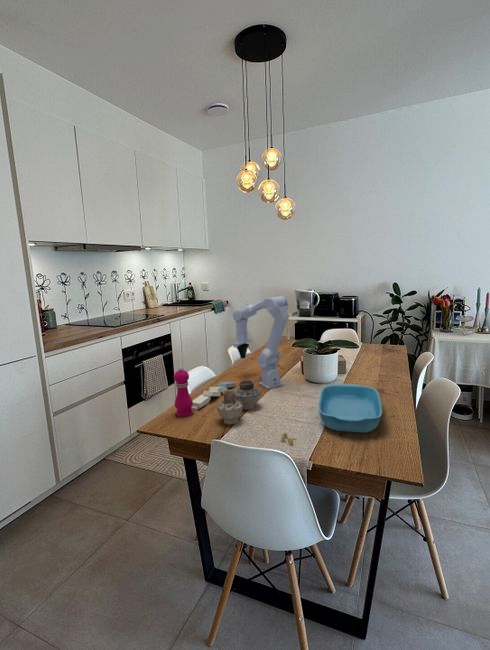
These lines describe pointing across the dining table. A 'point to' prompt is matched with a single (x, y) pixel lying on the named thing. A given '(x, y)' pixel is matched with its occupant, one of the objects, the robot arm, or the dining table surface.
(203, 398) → the ivory tile
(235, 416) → the pottery
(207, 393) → the tile
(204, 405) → the ivory tile
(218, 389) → the ivory tile
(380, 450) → the dining table surface
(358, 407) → the casserole dish
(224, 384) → the slate tile
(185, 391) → the pepper mill
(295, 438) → the olive bow shape
